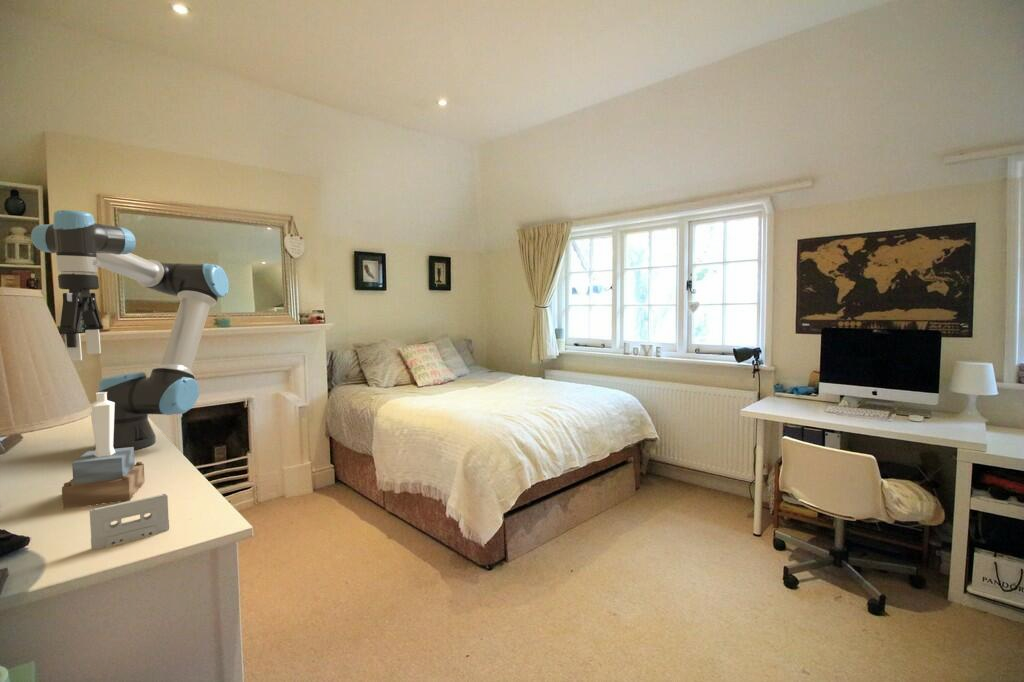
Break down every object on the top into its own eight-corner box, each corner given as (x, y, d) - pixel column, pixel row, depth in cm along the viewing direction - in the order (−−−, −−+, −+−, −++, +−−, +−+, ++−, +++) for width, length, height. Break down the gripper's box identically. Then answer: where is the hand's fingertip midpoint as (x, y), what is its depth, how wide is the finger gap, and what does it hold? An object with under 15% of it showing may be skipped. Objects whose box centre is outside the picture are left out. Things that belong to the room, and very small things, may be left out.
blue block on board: (84, 489, 116) (82, 450, 115) (144, 482, 121) (142, 444, 120) (63, 509, 105) (60, 465, 105) (129, 500, 110) (127, 458, 110)
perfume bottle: (97, 452, 114) (93, 391, 113) (119, 450, 115) (115, 390, 114) (87, 458, 110) (83, 395, 108) (110, 456, 111) (107, 394, 110)
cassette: (168, 528, 98) (166, 492, 97) (169, 531, 96) (168, 495, 96) (91, 547, 90) (89, 508, 89) (91, 551, 88) (89, 512, 88)
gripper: (78, 272, 109) (85, 363, 111) (112, 275, 131) (118, 350, 133) (35, 271, 106) (43, 364, 108) (77, 274, 128) (83, 351, 130)
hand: (84, 357), depth 121 cm, fingers open, 13 cm apart
